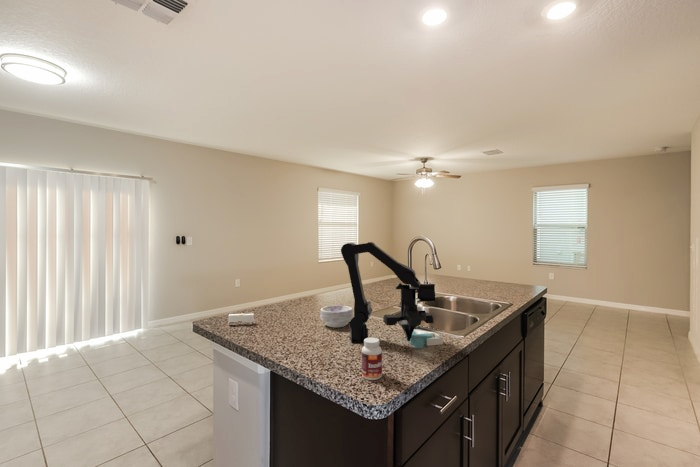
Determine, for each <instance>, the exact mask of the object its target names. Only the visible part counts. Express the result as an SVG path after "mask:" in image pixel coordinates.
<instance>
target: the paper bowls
mask: <svg viewBox="0 0 700 467" xmlns="http://www.w3.org/2000/svg"><path fill="white" fill-rule="evenodd" d="M353 317H354V308H353V307H351V306H348V305H326V306H324V307H321V308H320V320H321V321H322V322H324V323H325V325H326V326H327V327H329V328H344V327H346V326H347V325H349V322H350V320H351V319H352V318H353Z"/></svg>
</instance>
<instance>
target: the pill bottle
mask: <svg viewBox="0 0 700 467" xmlns="http://www.w3.org/2000/svg"><path fill="white" fill-rule="evenodd" d="M361 376H362V378H364V379H365V380H369V381H377V380H379V379H381V378H382V376H383V350H382V347H381V346H380V339H379V338H377V337H368V338H366V339H364V342H363V346H362V347H361Z"/></svg>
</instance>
